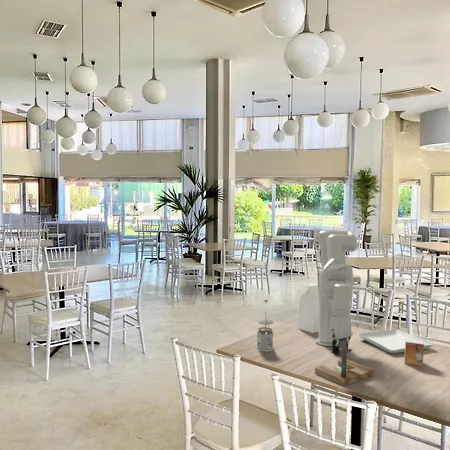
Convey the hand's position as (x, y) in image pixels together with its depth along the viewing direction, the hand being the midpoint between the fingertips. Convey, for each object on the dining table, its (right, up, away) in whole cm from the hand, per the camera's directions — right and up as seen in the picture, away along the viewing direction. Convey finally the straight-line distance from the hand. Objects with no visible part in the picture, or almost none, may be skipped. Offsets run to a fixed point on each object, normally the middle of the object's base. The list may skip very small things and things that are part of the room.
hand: (340, 352), depth 196 cm
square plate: (+39, -8, +39) cm, 56 cm away
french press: (-30, -6, +31) cm, 44 cm away
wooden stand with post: (+2, -9, -2) cm, 9 cm away
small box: (+38, -9, +13) cm, 41 cm away
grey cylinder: (0, -1, 0) cm, 1 cm away
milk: (0, -5, +65) cm, 65 cm away
